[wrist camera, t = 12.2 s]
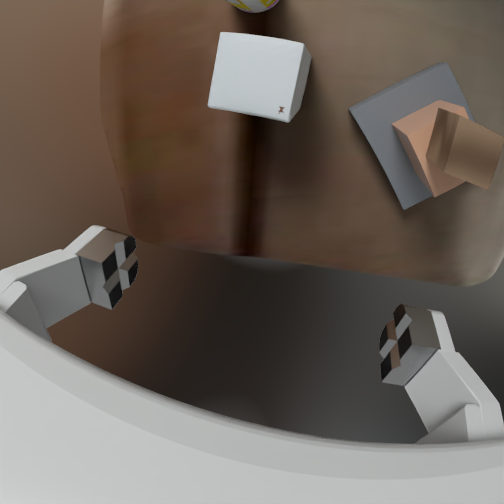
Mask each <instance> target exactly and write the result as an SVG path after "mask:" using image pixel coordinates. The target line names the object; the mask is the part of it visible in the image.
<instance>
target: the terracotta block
mask: <svg viewBox="0 0 504 504" xmlns="http://www.w3.org/2000/svg"><path fill="white" fill-rule="evenodd" d="M438 107H439V108H441V109H444V110H447V111H450V112H453V113H455V114H458V115H460V116H463V117H465V118H467V119H469V118H468V115H467V113H466V110H465V108H464V107H462V106H459V105H455V104H452V103H449V102H445V101H442V100H438V101H436V102H434V103H432V104H430V105H428V106H426V107H424V108H422V109H420V110H418V111H416V112H414V113H412V114H410V115H408V116H406V117H404V118H402V119H400V120H398V121H396V122H394V123H392V126H393V128H394V129H395V131H396V133H397V135H398V137H399V139H400V141H401V143H402V145H403V147H404V149H405V151H406V153H407V155H408V157H409V159H410V161H411V163H412V165H413V168H414V170H415V172H416V174H417V176H418V177H419V178H420V179H421V181H422V182H423V183H424V184H425V186H426V187H427V188H428V190H429V191H430V192H431V193H432V195H433V196H434V197H437V196H439V195H441V194H443V193H445V192H447V191H449V190H451V189H453V188H455V187H456V186H458V185H460V184H462V183H464V182H466V181H464V180H462V179H460V178H457V177H454V176H452V175H449V174H447V173H444V172H443V171H442V170H441V169H440V168H439V167H437V166H436V165H435V164H434V163H433V162H432V161H431V160H430V159H429V158H428V157H427V156H426V153H427V149H428V146H429V142H430V138H431V135H432V131H433V127H434V123H435V119H436V115H437V111H438Z"/></svg>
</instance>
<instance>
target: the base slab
mask: <svg viewBox="0 0 504 504" xmlns="http://www.w3.org/2000/svg"><path fill="white" fill-rule="evenodd" d="M438 100H442V101H445V102H449V103H452V104H455V105H459V106H462V107H464V108H465V110H466V113H467V115H468V118H469V120H471V121H473V122H475V121H474V119H473V116H472V114H471V111H470V109H469V106H468V104H467V102H466V100H465V97H464V95H463V93H462V91H461V89H460V87H459V85H458V83H457V80H456V78H455V76H454V74H453V73H452V71H451V69H450V67H449V65H448V63H437V64H435V65H433V66H431V67H429V68H427V69H424V70H422V71H420V72H418V73H416V74H414V75H412V76H410V77H408V78H406V79H404V80H402V81H400V82H398V83H396V84H394V85H392V86H390V87H388V88H386V89H384V90H382V91H380V92H378V93H376V94H374V95H372V96H370V97H369V98H367V99H365V100H363V101H361V102H359V103H357V104H356V105H354V106H352V107H350V108H348V109H349V111H350V112H351V114H352V115H353V117H354V118H355V120H356V122H357V123H358V125H359V127H360V128H361V130H362V132H363V133H364V135H365V137H366V139H367V140H368V142H369V144H370V146H371V147H372V149H373V151H374V153H375V155H376V156H377V158H378V160H379V162H380V164H381V166H382V168H383V169H384V171H385V173H386V175H387V177H388V179H389V181H390V183H391V185H392V187H393V189H394V191H395V193H396V195H397V198H398V200H399V202H400V204H401V206H402V208H403V210H405V209H407V208H409V207H411V206H413V205H415V204H417V203H419V202H421V201H423V200H425V199H427V198H429V197H431V196H433V195H432V193H431V192H430V191H429V190H428V188H427V187H426V186H425V184H424V183H423V182H422V181H421V179H420V178H419V177H418V176H417V174H416V172H415V170H414V168H413V165H412V163H411V161H410V159H409V157H408V155H407V153H406V151H405V149H404V147H403V145H402V143H401V141H400V139H399V137H398V135H397V133H396V131H395V129H394V128H393V126H392V123H394V122H396V121H398V120H400V119H402V118H404V117H406V116H408V115H410V114H412V113H414V112H416V111H418V110H420V109H422V108H424V107H426V106H428V105H430V104H432V103H434V102H436V101H438Z"/></svg>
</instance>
